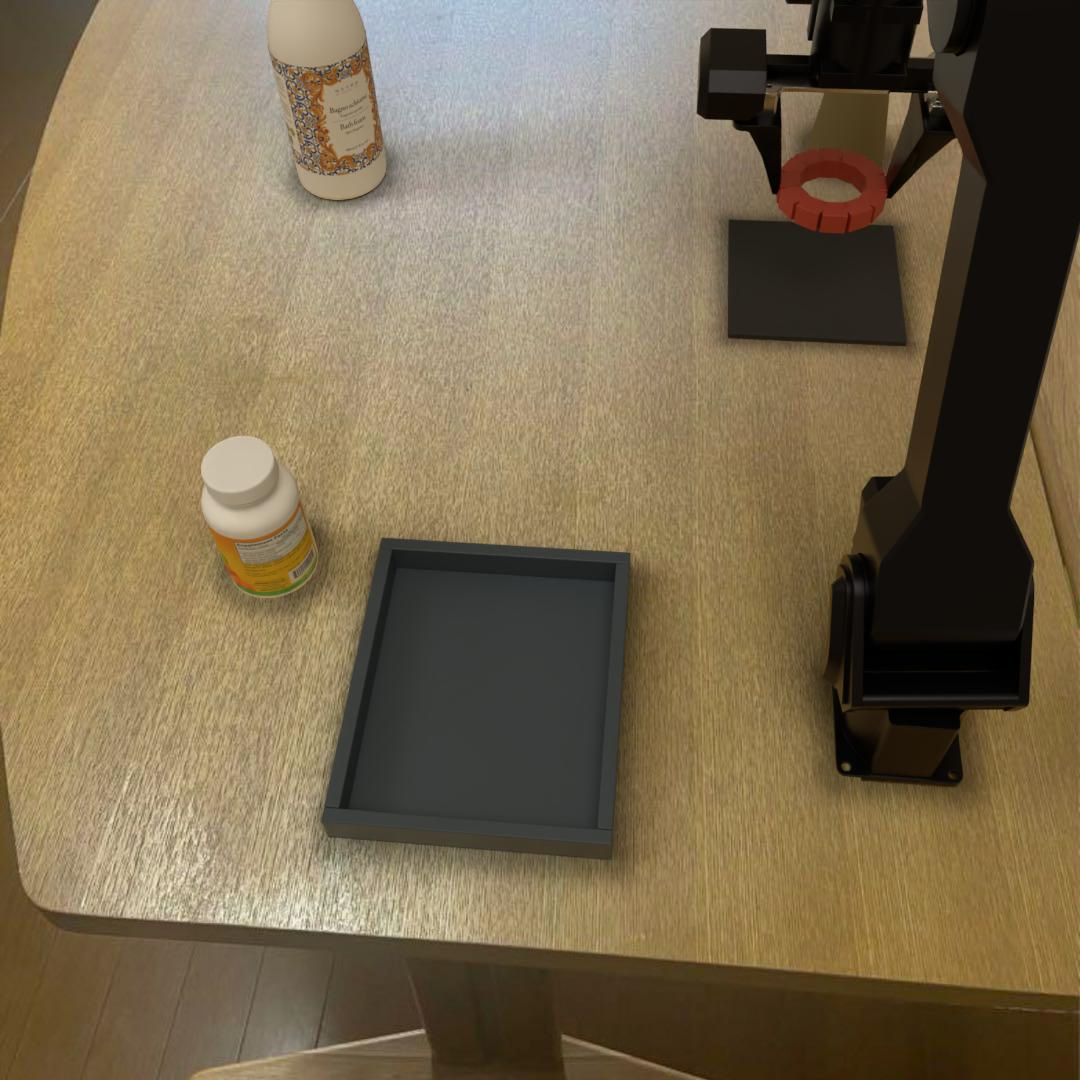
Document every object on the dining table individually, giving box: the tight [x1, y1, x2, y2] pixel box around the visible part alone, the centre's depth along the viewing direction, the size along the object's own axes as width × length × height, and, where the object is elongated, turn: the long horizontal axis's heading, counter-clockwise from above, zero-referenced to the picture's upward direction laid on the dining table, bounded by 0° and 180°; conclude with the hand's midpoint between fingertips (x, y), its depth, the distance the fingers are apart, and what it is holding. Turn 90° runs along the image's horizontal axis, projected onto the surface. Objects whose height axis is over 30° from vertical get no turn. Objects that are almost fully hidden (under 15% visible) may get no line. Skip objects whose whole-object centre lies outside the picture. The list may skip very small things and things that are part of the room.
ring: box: [775, 148, 888, 233], centre depth 78 cm, size 7×7×1 cm
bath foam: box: [265, 0, 387, 201], centre depth 85 cm, size 7×7×20 cm
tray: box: [320, 537, 631, 861], centre depth 65 cm, size 18×15×2 cm
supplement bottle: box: [200, 435, 319, 599], centre depth 68 cm, size 5×5×10 cm
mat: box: [727, 218, 908, 347], centre depth 85 cm, size 12×12×1 cm
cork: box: [805, 92, 891, 167], centre depth 89 cm, size 6×6×11 cm
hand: (831, 192), depth 78 cm, fingers closed on ring, 7 cm apart
